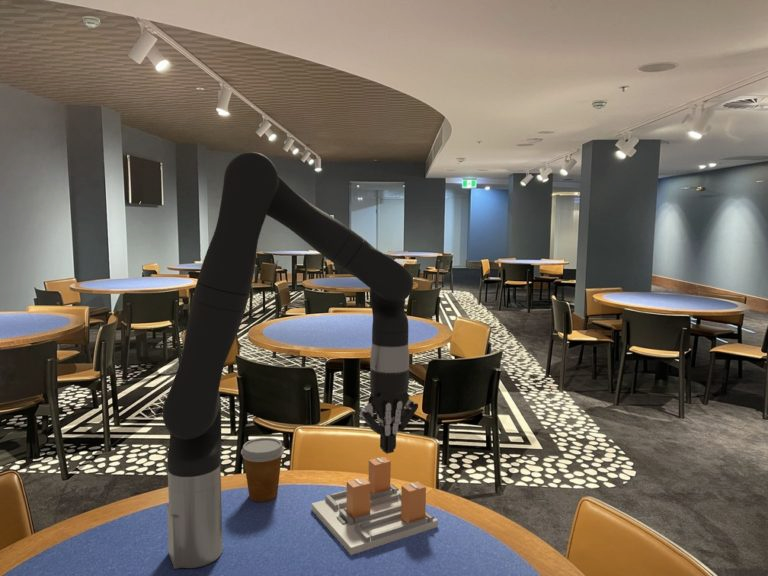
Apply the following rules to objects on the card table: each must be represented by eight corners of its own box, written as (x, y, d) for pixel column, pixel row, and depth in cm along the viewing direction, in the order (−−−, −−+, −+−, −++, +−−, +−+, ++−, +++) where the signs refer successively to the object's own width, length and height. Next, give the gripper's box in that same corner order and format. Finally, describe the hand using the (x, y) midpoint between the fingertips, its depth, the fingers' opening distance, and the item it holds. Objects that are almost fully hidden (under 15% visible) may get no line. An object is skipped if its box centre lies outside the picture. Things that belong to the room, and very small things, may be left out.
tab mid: (353, 520, 113) (353, 486, 112) (346, 513, 115) (346, 480, 115) (370, 515, 115) (370, 482, 114) (363, 508, 117) (363, 476, 117)
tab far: (374, 495, 123) (375, 464, 123) (368, 489, 126) (368, 459, 125) (390, 491, 125) (390, 460, 125) (383, 485, 128) (383, 455, 127)
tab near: (408, 524, 111) (409, 490, 111) (401, 517, 114) (401, 484, 113) (425, 519, 113) (426, 486, 113) (417, 512, 116) (417, 480, 115)
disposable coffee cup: (289, 486, 131) (288, 437, 129) (277, 507, 121) (277, 454, 120) (250, 484, 132) (249, 435, 130) (235, 504, 122) (234, 452, 121)
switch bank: (351, 555, 104) (351, 542, 104) (311, 510, 120) (311, 499, 120) (437, 526, 114) (438, 515, 114) (390, 488, 130) (390, 478, 130)
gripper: (368, 374, 101) (367, 465, 103) (428, 366, 108) (426, 452, 110) (350, 365, 107) (349, 451, 109) (407, 358, 114) (406, 439, 116)
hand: (388, 451), depth 109 cm, fingers closed
